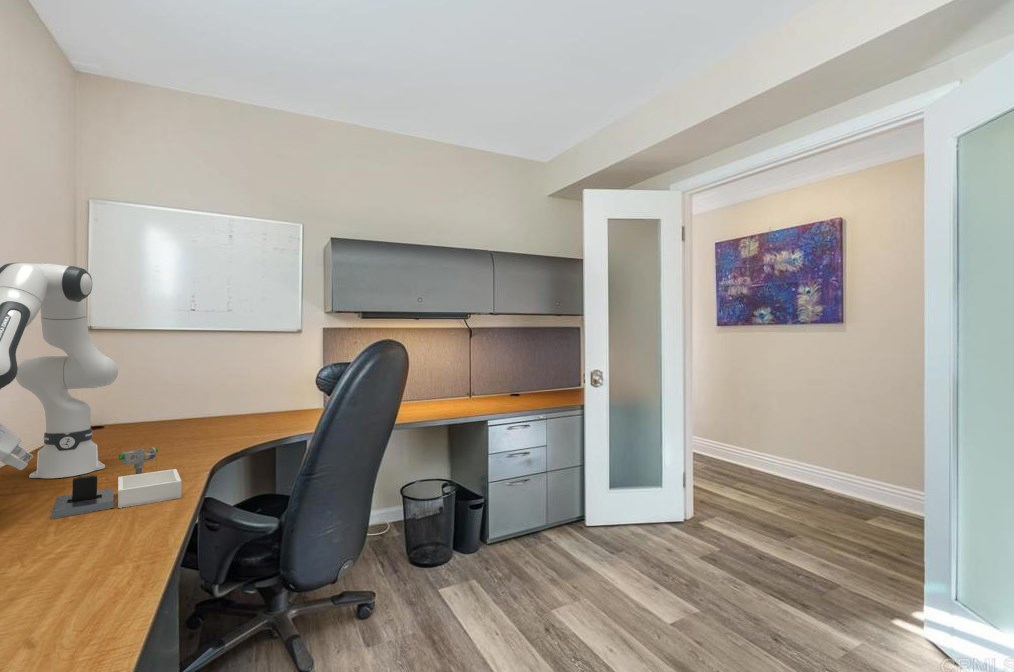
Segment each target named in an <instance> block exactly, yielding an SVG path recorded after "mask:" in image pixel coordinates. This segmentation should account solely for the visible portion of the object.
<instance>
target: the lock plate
mask: <svg viewBox="0 0 1014 672" xmlns="http://www.w3.org/2000/svg"><path fill="white" fill-rule="evenodd" d="M114 495H115V488H114V487H112V488H105V489H97V499H92V500H86V501H80V502H73V503H72V493H71V494H66V495H58V496H56V499H55V501H54V504H53V507H52V509H51V520H54V519H60V518H66V517H72V516H78V515H83V514H89V513H88V512H90V513H93V512H92V511H96V512H99V511H98V510H102V511H105V510H104V509H108V510H110V509H109V508H113V509H114V504H115V503H114V501H115V500H114V497H115V496H114Z"/></svg>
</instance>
